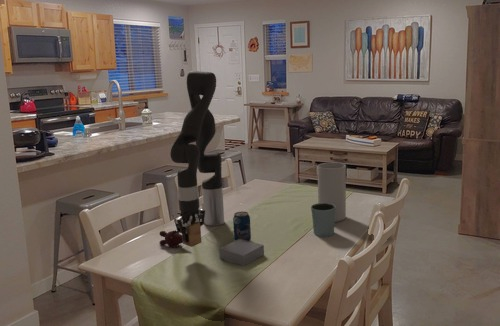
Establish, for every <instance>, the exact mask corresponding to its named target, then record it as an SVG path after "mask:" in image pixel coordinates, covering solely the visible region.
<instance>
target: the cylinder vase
mask: <svg viewBox="0 0 500 326" xmlns="http://www.w3.org/2000/svg"><path fill="white" fill-rule="evenodd" d="M346 166H347V165H346V164H345V163H341V162H324V163H319V164H318V165H317V204H318V203H330V204H333V205H335V206H336V209H335V221H334V222H335V223H338V222H343V221H344V220H345V219H346V217H347V216H346V215H347V213H346V212H347V209H346V207H347V205H346V203H347V202H346V201H347V200H346V199H347V198H346V197H347V196H346V195H347V193H346V190H347V188H346V187H347V185H346V183H347V182H346V181H347V180H346V178H347V177H346V176H347V175H346V174H347V170H346V168H347V167H346Z"/></svg>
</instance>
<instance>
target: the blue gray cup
mask: <svg viewBox="0 0 500 326" xmlns="http://www.w3.org/2000/svg"><path fill="white" fill-rule="evenodd" d="M310 209H311V218H312V227H313V234H314V236H317V237H319V238H326V237H327V238H329V237H331V236H334V234H335V223H336V222H334V221H335V209H336V206H335V205H333V204H330V203H318V202H317V203H313V204H312V205H311V207H310Z"/></svg>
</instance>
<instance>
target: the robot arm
mask: <svg viewBox="0 0 500 326" xmlns="http://www.w3.org/2000/svg"><path fill="white" fill-rule="evenodd" d="M186 76H187V77H186V88H187V94H188V99H189V102H190V110H189V111H188V113H187V114H186V115H185V117H184V119H183V121H182V122H183V123H182V127H181V130H180V132H179V135H178V136H177V137H176V140H175V141H174V143H173V145H172V146H171V148H170V153H169V154H170V158H171V160H172V162H173V163H175V164H188V166H187V168H186V167H185V168H182V169H179V170H178V171H177V172H176V175H177V197H178V208H179V211H180V215H179V217H177V218H176V217H175V218H174V219H173V222H174V224H175V227H176V231H177V232H179V234H181V235H183V241H184V242H186V243H188V242H189V236H188V228H189V226H190V224H191V223H194V222H196V223H198V222H199V223H200V228H201V227H202V226H204V225H206V226H209V227H214V226H215V227H217V226H220V225H223V224H224V223H225V211H224V210H225V209H224V194H223V192H224V191H223V179H222V178H223V177H222V155H221V154H220V152H218V151H217V152H214V151H213V152H205V151H206V149H207V148H208V145H209V143H211V141H212V140H213V138H214V137H215V134H216V131H217V130H216V120H215V116H214V115H213V113H212V112H211V111H210V109H209V107H210V105H211V102H212V100H213V97H214V95H215V92H216V88H217V76H216V74H215V73H214V72H209V71H201V70H200V71H199V70H191V71H189V72H188V73H187V75H186ZM201 96H202V97H201ZM193 143H195V144H193ZM197 173H201V174H202V173H203V174H212V173H214V174H213V176H210V177H209V178H207V179H204V180H203V181H202V182H201V187H202V188H201V189H202V202H201V208H200V197H199V187H198V177H197V176H198V175H197ZM185 223H186V224H187V225H186V224H185ZM185 227H186V228H185Z"/></svg>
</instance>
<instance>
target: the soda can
mask: <svg viewBox="0 0 500 326" xmlns="http://www.w3.org/2000/svg"><path fill="white" fill-rule="evenodd" d="M232 220H233V223H232V224H233V239H234V241H236V240H238V239H243V240H247V241H251V239H252V232H251V216H250V215H249V212H248V211H237V212H235V213H234V214H233V218H232Z"/></svg>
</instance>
